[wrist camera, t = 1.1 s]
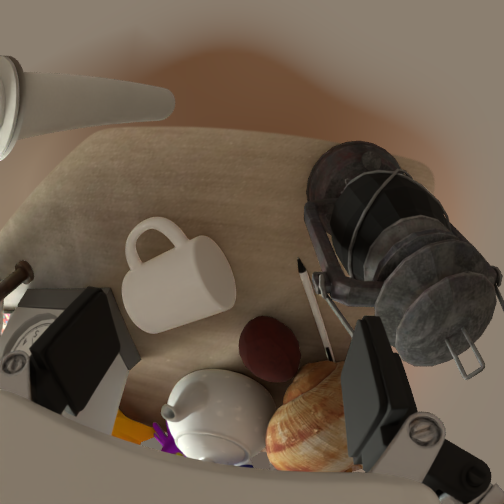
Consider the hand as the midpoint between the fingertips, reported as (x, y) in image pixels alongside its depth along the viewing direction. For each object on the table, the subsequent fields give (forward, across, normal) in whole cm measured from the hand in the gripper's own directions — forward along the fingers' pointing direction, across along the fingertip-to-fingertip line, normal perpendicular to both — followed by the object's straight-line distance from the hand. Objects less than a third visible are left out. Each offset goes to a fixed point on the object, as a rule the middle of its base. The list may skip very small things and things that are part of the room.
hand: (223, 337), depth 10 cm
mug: (+22, +10, +8) cm, 25 cm away
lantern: (+22, -9, -1) cm, 24 cm away
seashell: (+8, -16, +26) cm, 32 cm away
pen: (+22, -7, +16) cm, 28 cm away
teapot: (+22, +5, +34) cm, 40 cm away
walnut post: (+22, +40, +14) cm, 47 cm away
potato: (+22, -2, +18) cm, 29 cm away
